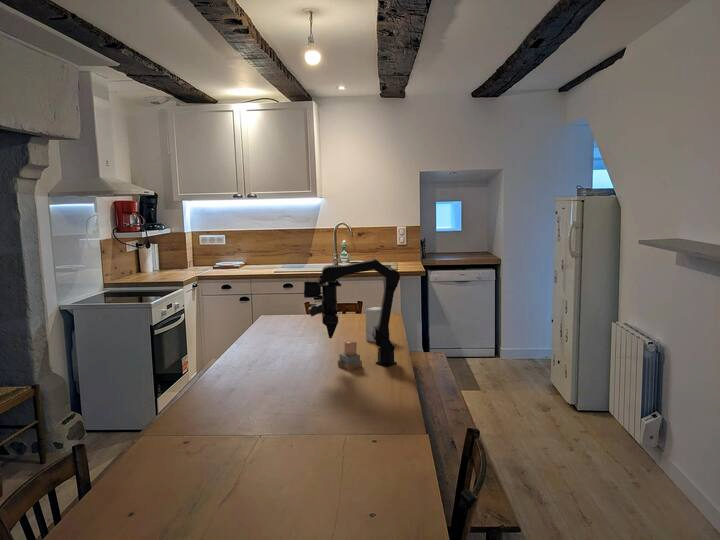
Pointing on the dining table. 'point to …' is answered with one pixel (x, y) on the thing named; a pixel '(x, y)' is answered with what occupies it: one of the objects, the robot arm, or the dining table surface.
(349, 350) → the terracotta cylinder
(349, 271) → the robot arm
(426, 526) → the dining table surface
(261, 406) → the dining table surface
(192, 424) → the dining table surface
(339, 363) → the walnut block
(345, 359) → the grey block
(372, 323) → the skincare box
